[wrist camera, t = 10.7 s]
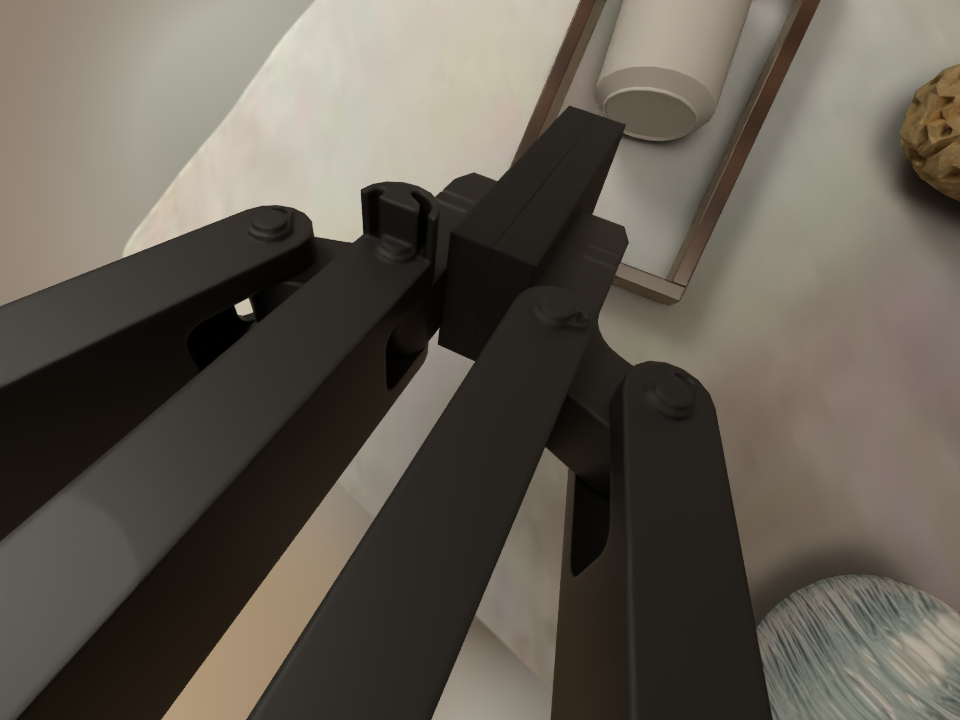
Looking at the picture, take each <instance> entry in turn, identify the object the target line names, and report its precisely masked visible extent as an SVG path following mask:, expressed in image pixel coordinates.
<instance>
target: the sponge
mask: <svg viewBox="0 0 960 720" xmlns="http://www.w3.org/2000/svg"><path fill="white" fill-rule="evenodd" d="M899 137H900V140H901V144H902V147H903V150H904V152H905V154H906V156H907V158H908V160H910V161H912V167H913V169H914V170H915V171H916V172H917V174H918V175H919V177H920V178H921V179H922V180H924V181H926V182H927V183H928V184H929V185H931V186H932V187H934V188H935V189H937V190H938V191H940V192H941V193H943V194H945V195H947V196H948V197H951V198H953V199H956V200H958V201H960V64H958V65H955V66H953V67H950V68H947V69H945V70H943V71H942V72H941V73H940V74H939V75H937V76H936V77H935V78H934V79H933V80H931V81H930V82H928V83H927V84H925V85H924V86H922V87H921V88H920V89H918V90H917V91H916V92H915V95H914V98H913V101H912V103H911V105H910V107H909V109H908V111H907V112H906V114H905V117H904V121H903V125H902V128H901V131H900V134H899Z"/></svg>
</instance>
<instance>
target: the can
mask: <svg viewBox="0 0 960 720" xmlns="http://www.w3.org/2000/svg"><path fill="white" fill-rule="evenodd" d="M751 2H752V0H623V2H622V6H621V9H620V12H619V15H618V18H617V22H616V25H615V28H614V31H613V34H612V38H611V41H610V44H609V47H608V50H607V54H606V57H605V60H604V63H603V66H602V70H601V73H600V76H599V79H598V83H597V86H596V91H595V99H596V102H597V104H598V106H599V108H600V110H601V111H602V113H603V115H604V117H605V118H608V119H611V120H614V121H617V122H620V123H623V124H626V127H625V129H624V132H623V133H624V134H627V135H629V136H632V137H634V138H639V139H644V140H651V141H667V140H675V139H678V138H681V137H684V136H686V135H687V134H689V133H690V132H692V131H693V130H696V129H698V128H699V127H701V126H702V125H704V124H705V123H707V122H708V121H709V120H710V119H711V117H712V115H713V114H714V112H715V110H716V107H717V104H718V101H719V98H720V95H721V92H722V89H723V86H724V83H725V80H726V77H727V74H728V71H729V68H730V65H731V62H732V59H733V56H734V53H735V50H736V47H737V44H738V41H739V38H740V35H741V32H742V29H743V26H744V23H745V20H746V17H747V14H748V11H749V8H750V5H751Z"/></svg>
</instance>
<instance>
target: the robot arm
mask: <svg viewBox="0 0 960 720" xmlns="http://www.w3.org/2000/svg"><path fill="white" fill-rule="evenodd" d="M625 127H626V124H623V123H620V122H617V121H614V120H611V119H608V118H605V117H602V116H599V115H596V114H593V113H590V112H587V111H584V110H581V109H578V108H575V107H572V106H569V107H568V108H567V109H566V110H565V111H564V112H563V113H562V114H561V115H560V116H559V117H558V118H557V119H556V120H555V121H554V122H553V123H552V125H551V126H550V127H549V128H548V129H547V130H546V131H545V132H544V133H543V134H542V135H541V136H540V137H539V138H538V139H537V140H536V141H535V142H534V144H533V145H532V146H531V147H530V148H529V149H528V150H527V151H526V152H525V153H524V154H523V155H522V156H521V157H520V158H519V159H518V160H517V162H516V163H515V164H514V165H513V166H512V167H511V168H510V169H509V170H508V171H507V172H506V173H505V174H504V175H503V176H502V177H501V178H500V179H499V181H495V180H493V179H490V178H487V177H485V176H482V175H479V174H477V173H471V174H468V175H465V176H462V177H459V178H456V179H454V180H453V181H452V182H451V183H450V184H449V185H448V186H447V187H446V188H445V189H443V192H440V193H439V194H438V195H437V196H436V197H434V196H433V195H432V194H431V193H430V192H428V191H426V190H424V189H423V188H421V187H419V186H415V185H412V184H408V183H404V182H382V183H376V184H372V185H370V186H367V187H365V188H363V189H361V202H362V218H363V235H362V236H361V237H360V238H358V239H357V240H356V241H355V242H354V243H349V242H342V241H336V240H330V239H324V238H318V237H314V233H313V227H312V221H311V220H310V219H309V218H308V217H307V216H306V214H305V213H303V212H300V211H298V210H296V209H294V208H290V207H285V206H279V205H272V206H260V207H256V208H252V209H248V210H245V211H242V212H240V213H237V214H235V215H232V216H230V217H227V218H225V219H222V220H220V221H217V222H214V223H212V224H209V225H207V226H204V227H202V228H199V229H197V230H194V231H191V232H189V233H186V234H184V235H181V236H179V237H176V238H174V239H171V240H168V241H166V242H163V243H161V244H158V245H156V246H153V247H151V248H148V249H145V250H143V251H140V252H138V253H135V254H133V255H130V256H128V257H125V258H122V259H120V260H118V261H115V262H112V263H110V264H107V265H105V266H102V267H100V268H97V269H95V270H92V271H89V272H87V273H84V274H82V275H79V276H77V277H74V278H72V279H69V280H66V281H64V282H61V283H59V284H56V285H54V286H51V287H48V288H46V289H43V290H41V291H38V292H36V293H33V294H31V295H28V296H26V297H23V298H20V299H18V300H15V301H13V302H10V303H8V304H5V305H3V306H0V720H161V719H162V718H163V716H164V715H165V714H166V712H167V711H168V710H169V708H170V707H171V705H172V704H173V703H174V701H175V700H176V699H177V697H178V696H179V695H180V693H181V692H182V691H183V689H184V688H185V686H186V685H187V684H188V682H189V681H190V680H191V678H192V677H193V676H194V674H195V673H196V672H197V670H198V669H199V667H200V666H201V665H202V663H203V662H204V661H205V659H206V658H207V656H208V655H209V654H210V652H211V651H212V650H213V648H214V647H215V646H216V644H217V643H218V642H219V640H220V639H221V637H222V636H223V635H224V633H225V632H226V631H227V629H228V628H229V626H230V625H231V624H232V623H233V621H234V620H235V619H236V617H237V616H238V614H239V613H240V612H241V610H242V609H243V608H244V606H245V605H246V604H247V602H248V601H249V600H250V598H251V597H252V595H253V594H254V593H255V591H256V590H257V588H258V587H259V586H260V584H261V583H262V582H263V580H264V579H265V578H266V576H267V575H268V574H269V572H270V571H271V570H272V568H273V567H274V566H275V564H276V563H277V561H278V560H279V559H280V557H281V556H282V555H283V553H284V552H285V551H286V549H287V548H288V546H289V545H290V544H291V542H292V541H293V540H294V538H295V537H296V536H297V534H298V533H299V531H300V530H301V529H302V528H303V526H304V525H305V523H306V522H307V521H308V519H309V518H310V517H311V515H312V514H313V513H314V511H315V510H316V508H317V507H318V506H319V504H320V503H321V502H322V500H323V499H324V497H325V496H326V495H327V494H328V492H329V491H330V489H331V488H332V487H333V485H334V484H335V483H336V481H337V480H338V479H339V477H340V476H341V475H342V473H343V472H344V470H345V469H346V468H347V466H348V465H349V464H350V462H351V461H352V460H353V458H354V457H355V456H356V454H357V453H358V451H359V450H360V449H361V447H362V446H363V445H364V443H365V442H366V441H367V439H368V438H369V436H370V435H371V434H372V432H373V431H374V430H375V428H376V427H377V426H378V424H379V423H380V422H381V420H382V419H383V417H384V416H385V415H386V413H387V412H388V411H389V409H390V408H391V407H392V405H393V404H394V403H395V401H396V400H397V398H398V397H399V396H400V394H401V393H402V392H403V390H404V389H405V388H406V386H407V385H408V384H409V382H410V381H411V379H412V378H413V377H414V375H415V374H416V373H417V371H418V370H419V369H420V367H421V366H422V364H423V363H424V361H425V359H426V356H427V354H428V342H429V340H430V339H431V338H432V336H433V335H434V334H435V332H436V331H437V330H438V329H439V327H440V329H439V338H438V345H440V346H442V347H444V348H447V349H449V350H451V351H453V352H456V353H458V354H460V355H462V356H464V357H467V358H469V359H471V360H473V361H475V363H474V364H473V366H472V367H471V369H470V371H469V372H468V374H467V375H466V377H465V378H464V380H463V382H462V383H461V385H460V386H459V388H458V389H457V391H456V393H455V394H454V396H453V397H452V399H451V400H450V402H449V403H448V405H447V407H446V408H445V410H444V411H443V413H442V414H441V416H440V418H439V419H438V421H437V422H436V424H435V425H434V427H433V428H432V430H431V432H430V433H429V435H428V436H427V438H426V439H425V441H424V443H423V444H422V446H421V447H420V449H419V450H418V452H417V453H416V455H415V457H414V458H413V460H412V461H411V463H410V464H409V466H408V468H407V469H406V471H405V472H404V474H403V475H402V477H401V479H400V480H399V482H398V483H397V485H396V486H395V488H394V489H393V491H392V493H391V494H390V496H389V497H388V499H387V500H386V502H385V504H384V505H383V507H382V508H381V510H380V511H379V513H378V514H377V516H376V518H375V519H374V521H373V522H372V524H371V525H370V527H369V529H368V530H367V532H366V533H365V535H364V536H363V538H362V539H361V541H360V543H359V544H358V546H357V547H356V549H355V550H354V552H353V554H352V555H351V557H350V558H349V560H348V562H347V563H346V565H345V566H344V568H343V569H342V571H341V572H340V574H339V576H338V577H337V579H336V580H335V582H334V583H333V585H332V586H331V588H330V590H329V591H328V593H327V594H326V596H325V598H324V599H323V600H322V602H321V604H320V605H319V607H318V608H317V610H316V611H315V613H314V615H313V616H312V618H311V619H310V621H309V622H308V624H307V625H306V627H305V629H304V630H303V632H302V633H301V635H300V636H299V638H298V640H297V641H296V643H295V644H294V646H293V647H292V649H291V651H290V652H289V654H288V655H287V657H286V658H285V660H284V661H283V663H282V665H281V666H280V668H279V669H278V671H277V672H276V674H275V676H274V677H273V679H272V680H271V682H270V683H269V685H268V686H267V688H266V690H265V691H264V693H263V694H262V696H261V698H260V699H259V701H258V702H257V704H256V705H255V707H254V708H253V710H252V711H251V713H250V715H249V716H248V718H247V719H246V720H431V719H432V717H433V714H434V712H435V709H436V707H437V705H438V702H439V700H440V697H441V695H442V693H443V690H444V688H445V685H446V683H447V681H448V678H449V676H450V673H451V671H452V668H453V666H454V664H455V661H456V659H457V657H458V654H459V652H460V650H461V647H462V645H463V642H464V640H465V638H466V635H467V633H468V630H469V628H470V625H471V623H472V621H473V618H474V616H475V614H476V611H477V609H478V606H479V604H480V602H481V599H482V597H483V594H484V592H485V590H486V587H487V585H488V582H489V580H490V578H491V575H492V573H493V570H494V568H495V566H496V563H497V561H498V558H499V556H500V554H501V551H502V549H503V547H504V544H505V542H506V539H507V537H508V535H509V532H510V530H511V527H512V525H513V523H514V520H515V518H516V515H517V513H518V511H519V508H520V506H521V503H522V501H523V499H524V496H525V494H526V491H527V489H528V487H529V484H530V482H531V479H532V477H533V475H534V472H535V470H536V467H537V465H538V463H539V460H540V458H541V456H542V453H543V451H544V448H545V447H546V448H547V449H548V450H549V451H551V452H552V453H553V454H554V455H555V456H556V457H557V458H558V459H560V460H561V461H562V462H563V463H564V464H565V465H566V466H567V467H568V468H569V470H568V482H567V496H566V511H565V525H564V539H563V553H562V567H561V582H560V596H559V610H558V624H557V638H556V653H555V667H554V681H553V696H552V709H551V710H552V711H551V720H773V718H772V712H771V707H770V702H769V696H768V691H767V685H766V680H765V675H764V669H763V664H762V658H761V653H760V647H759V642H758V637H757V631H756V626H755V620H754V615H753V609H752V604H751V599H750V593H749V588H748V582H747V577H746V572H745V566H744V561H743V555H742V550H741V544H740V539H739V534H738V528H737V523H736V517H735V512H734V506H733V501H732V496H731V490H730V485H729V479H728V474H727V469H726V463H725V458H724V452H723V447H722V441H721V436H720V431H719V425H718V420H717V414H716V409H715V406H714V404H713V401H712V399H711V396H710V394H709V392H708V391H707V390H706V389H705V388H704V387H703V385H702V384H701V383H700V382H699V381H698V380H697V379H696V378H695V377H693V376H692V375H690V374H689V373H687V372H686V371H685V370H683V369H681V368H679V367H676V366H674V365H671V364H668V363H666V362H655V361H647V362H644V363H640V364H636V365H635V366H633V365H631V364H630V363H628V362H627V361H626V360H624V359H623V358H622V357H620V356H619V355H618V354H617V353H616V352H615V351H613V350H612V349H611V348H610V347H609V345H608V344H607V343H606V342H605V340H604V339H603V337H602V335H601V333H600V331H599V326H598V317H599V313H600V310H601V308H602V305H603V303H604V301H605V298H606V296H607V293H608V291H609V289H610V286H611V284H612V281H613V279H614V277H615V274H616V272H617V269H618V267H619V265H620V262H621V260H622V257H623V255H624V253H625V250H626V248H627V245H628V243H629V242H628V238H627V235H626V231H625V227H624V226H621V225H618V224H616V223H613V222H610V221H608V220H605V219H602V218H600V217H597V216H594V215H592V214H593V211H594V209H595V206H596V203H597V201H598V198H599V195H600V193H601V190H602V188H603V185H604V182H605V180H606V177H607V174H608V172H609V169H610V166H611V164H612V161H613V158H614V156H615V153H616V151H617V148H618V145H619V143H620V140H621V137H622V135H623V132H624V129H625ZM247 298H249V300H250V303H251V306H252V309H253V313H251V314H247V315H244V316H241V315H237V312H236V309H235V307H234V305H236V304H238V303H240V302H241V301H243V300H245V299H247Z"/></svg>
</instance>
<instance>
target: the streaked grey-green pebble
mask: <svg viewBox="0 0 960 720" xmlns="http://www.w3.org/2000/svg"><path fill="white" fill-rule="evenodd" d="M756 631H757V637H758V642H759V647H760V653H761V658H762V664H763V669H764V675H765V680H766V685H767V691H768V696H769V702H770V707H771V712H772V718H773V720H960V615H959V614H958V613H957V612H956V611H955V610H954V609H952V608H951V607H950V606H949V605H947V604H946V603H944V602H942V601H941V600H939V599H937V598H935V597H933V596H931V595H929V594H928V593H926V592H924V591H922V590H919V589H917V588H915V587H912V586H910V585H907V584H905V583H902V582H900V581H897V580H894V579H891V578H887V577H882V576H875V575H867V574H849V575H842V576H835V577H830V578H826V579H822V580H819V581H816V582H814V583H812V584H810V585H808V586H807V587H804V588H801V589H799V590H797V591H795V592H793V593H792V594H790V595H789V596H787V597H786V598H785V599H784V600H782V601H781V602H780V603H779V604H777V605H776V606H775V607H774V608H773V609H772V610H771V611H770V612H769V613H768V614H767V615H766V616H765V617H764V618H763V620H762V621H761V622H760V623H759V625H758V626H757V627H756Z"/></svg>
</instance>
